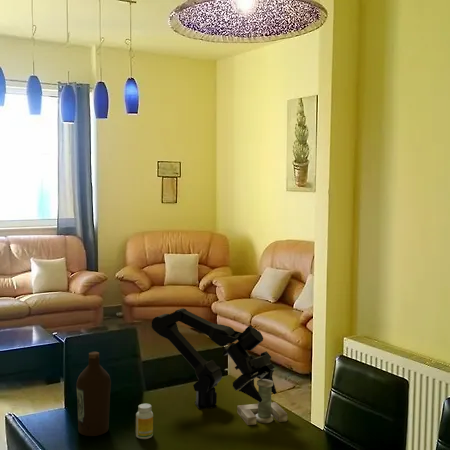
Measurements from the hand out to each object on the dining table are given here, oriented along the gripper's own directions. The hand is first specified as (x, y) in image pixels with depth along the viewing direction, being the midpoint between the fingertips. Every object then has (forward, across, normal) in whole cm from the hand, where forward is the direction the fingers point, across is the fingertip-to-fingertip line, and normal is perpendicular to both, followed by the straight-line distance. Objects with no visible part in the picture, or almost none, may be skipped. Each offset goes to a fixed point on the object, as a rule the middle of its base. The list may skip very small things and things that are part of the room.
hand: (268, 397), depth 200 cm
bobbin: (+5, 0, +7) cm, 8 cm away
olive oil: (-22, -41, +34) cm, 58 cm away
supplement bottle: (-11, -34, +23) cm, 43 cm away
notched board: (+3, +2, +8) cm, 9 cm away
